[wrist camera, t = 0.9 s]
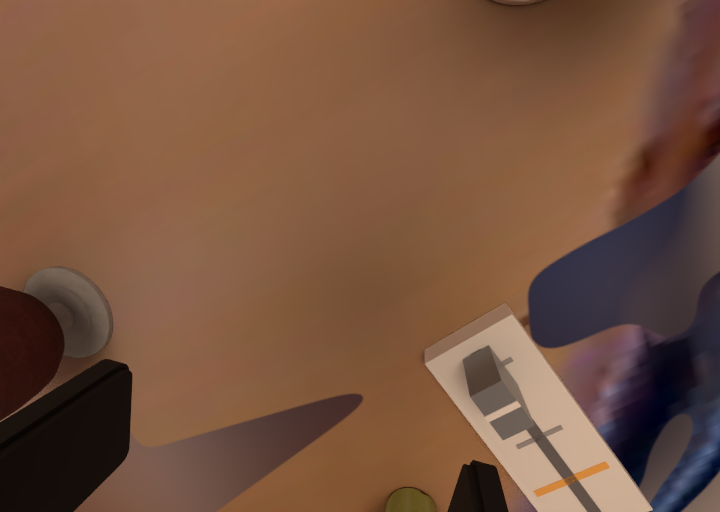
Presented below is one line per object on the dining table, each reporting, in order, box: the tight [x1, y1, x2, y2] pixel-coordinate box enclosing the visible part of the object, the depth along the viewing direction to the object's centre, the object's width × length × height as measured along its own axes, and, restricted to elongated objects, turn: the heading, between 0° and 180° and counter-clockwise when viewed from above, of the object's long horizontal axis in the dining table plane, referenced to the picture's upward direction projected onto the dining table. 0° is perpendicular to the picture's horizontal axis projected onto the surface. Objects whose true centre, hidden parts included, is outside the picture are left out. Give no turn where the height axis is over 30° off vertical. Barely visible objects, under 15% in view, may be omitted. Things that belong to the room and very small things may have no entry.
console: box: [424, 302, 653, 512], centre depth 40 cm, size 10×26×3 cm, turn 37°
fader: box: [463, 345, 535, 440], centre depth 34 cm, size 3×5×6 cm, turn 37°
